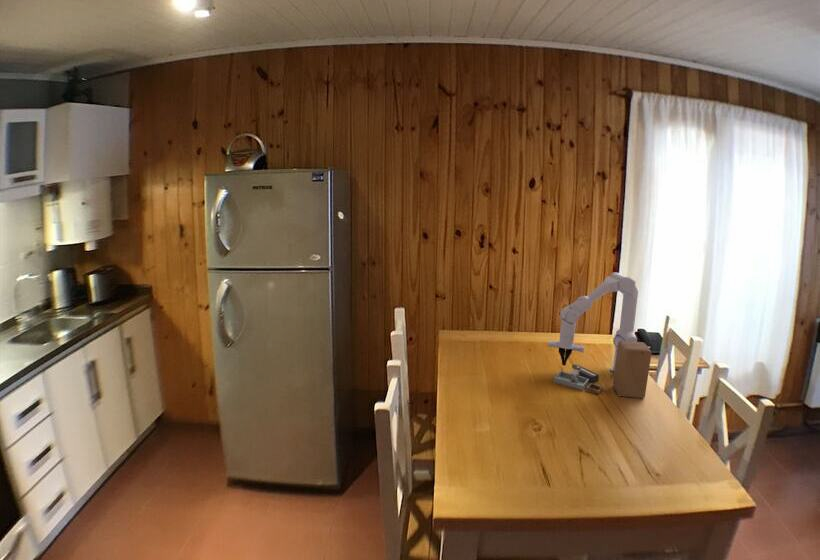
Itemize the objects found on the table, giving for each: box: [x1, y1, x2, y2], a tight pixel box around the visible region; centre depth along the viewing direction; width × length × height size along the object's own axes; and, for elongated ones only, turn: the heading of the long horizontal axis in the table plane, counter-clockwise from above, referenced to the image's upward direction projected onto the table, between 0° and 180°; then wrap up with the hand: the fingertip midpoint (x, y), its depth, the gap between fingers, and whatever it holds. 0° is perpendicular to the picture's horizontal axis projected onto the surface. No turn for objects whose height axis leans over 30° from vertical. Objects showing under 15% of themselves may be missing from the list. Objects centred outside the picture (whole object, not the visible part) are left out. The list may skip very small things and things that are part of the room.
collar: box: [585, 383, 604, 395], centre depth 180 cm, size 5×5×2 cm
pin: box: [571, 364, 582, 383], centre depth 185 cm, size 3×3×7 cm
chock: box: [579, 366, 600, 385], centre depth 189 cm, size 9×4×4 cm, turn 30°
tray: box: [552, 370, 589, 392], centre depth 185 cm, size 12×8×2 cm
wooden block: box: [612, 341, 652, 399], centre depth 176 cm, size 10×10×20 cm
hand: (563, 364), depth 195 cm, fingers closed
